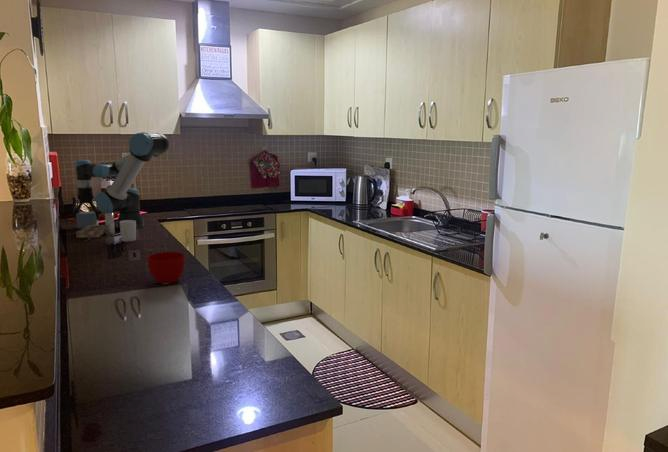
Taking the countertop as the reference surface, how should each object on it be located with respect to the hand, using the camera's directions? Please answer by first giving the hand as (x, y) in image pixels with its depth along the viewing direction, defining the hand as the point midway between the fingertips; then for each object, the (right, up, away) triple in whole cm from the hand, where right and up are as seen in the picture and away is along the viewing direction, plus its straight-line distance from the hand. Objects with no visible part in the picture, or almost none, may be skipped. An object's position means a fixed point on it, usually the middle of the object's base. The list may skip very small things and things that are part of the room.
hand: (87, 225), depth 287 cm
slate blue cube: (0, 0, 0) cm, 0 cm away
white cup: (+37, -8, -31) cm, 49 cm away
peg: (+21, -5, -18) cm, 28 cm away
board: (+11, -4, -16) cm, 20 cm away
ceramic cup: (+80, -21, -102) cm, 131 cm away
